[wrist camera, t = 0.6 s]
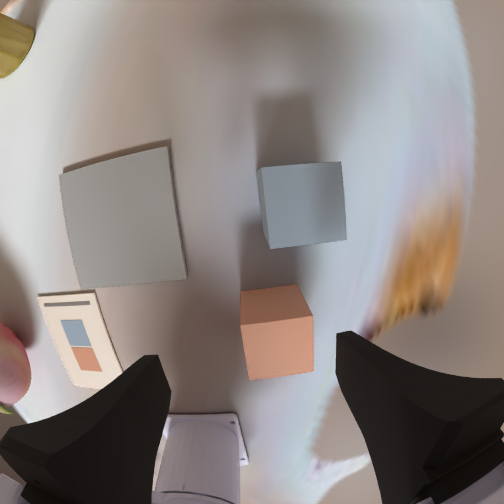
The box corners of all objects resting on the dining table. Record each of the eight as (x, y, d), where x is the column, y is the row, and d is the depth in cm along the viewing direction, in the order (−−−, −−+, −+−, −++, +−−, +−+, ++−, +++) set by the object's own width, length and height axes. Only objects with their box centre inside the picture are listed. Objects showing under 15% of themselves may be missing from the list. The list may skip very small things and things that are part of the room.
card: (131, 390, 22) (130, 391, 21) (75, 384, 22) (74, 386, 21) (95, 292, 19) (93, 293, 19) (38, 296, 19) (36, 297, 19)
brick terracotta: (299, 331, 21) (313, 371, 16) (247, 338, 21) (249, 380, 16) (296, 283, 20) (313, 315, 15) (240, 290, 20) (240, 325, 15)
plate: (188, 276, 19) (186, 279, 19) (83, 287, 19) (80, 289, 19) (168, 146, 17) (167, 145, 16) (62, 174, 17) (59, 175, 16)
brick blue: (321, 225, 19) (346, 240, 14) (262, 231, 19) (270, 249, 14) (315, 166, 18) (341, 161, 13) (256, 171, 18) (261, 167, 13)
